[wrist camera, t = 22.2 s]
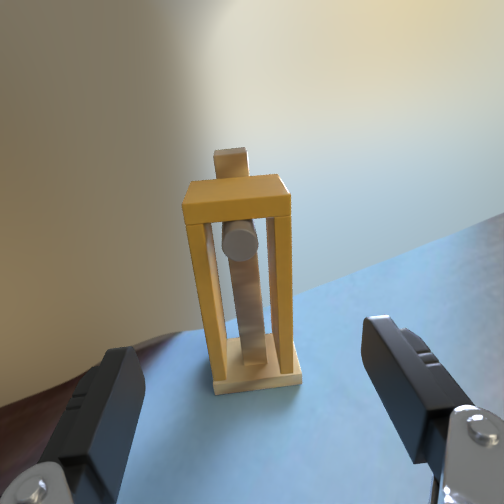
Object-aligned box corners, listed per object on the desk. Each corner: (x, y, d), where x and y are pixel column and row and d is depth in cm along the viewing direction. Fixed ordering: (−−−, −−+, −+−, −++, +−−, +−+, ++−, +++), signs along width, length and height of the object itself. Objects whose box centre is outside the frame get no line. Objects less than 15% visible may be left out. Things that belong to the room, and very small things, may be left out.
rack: (212, 461, 20) (143, 192, 12) (216, 349, 29) (178, 150, 21) (318, 447, 21) (320, 172, 12) (290, 340, 30) (281, 139, 21)
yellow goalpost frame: (213, 382, 19) (181, 204, 14) (215, 335, 22) (190, 181, 17) (293, 373, 19) (291, 194, 14) (283, 328, 22) (277, 173, 17)
